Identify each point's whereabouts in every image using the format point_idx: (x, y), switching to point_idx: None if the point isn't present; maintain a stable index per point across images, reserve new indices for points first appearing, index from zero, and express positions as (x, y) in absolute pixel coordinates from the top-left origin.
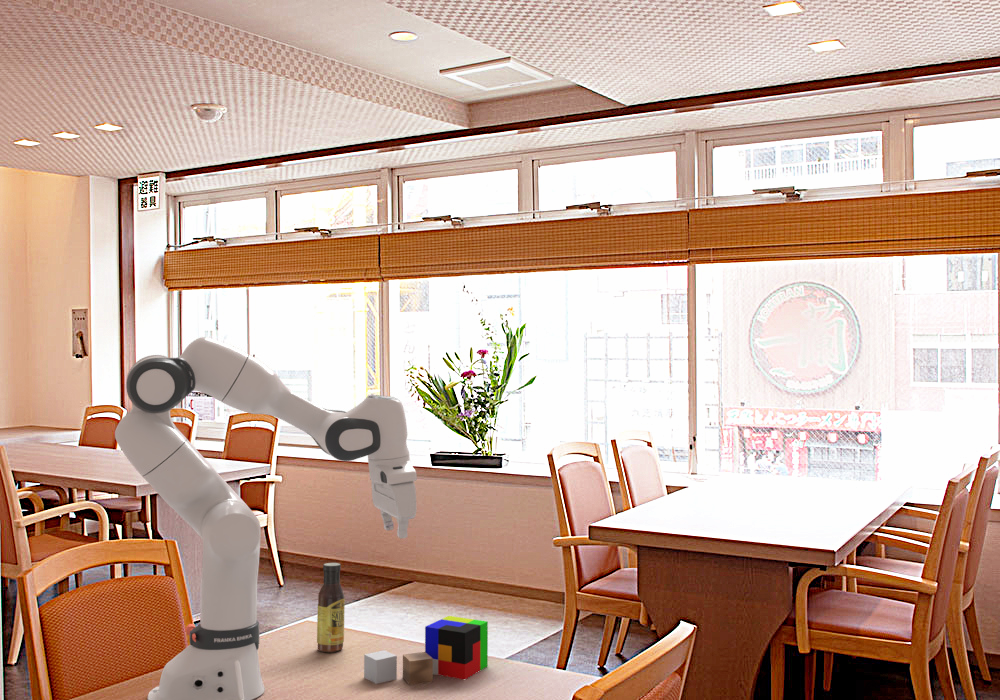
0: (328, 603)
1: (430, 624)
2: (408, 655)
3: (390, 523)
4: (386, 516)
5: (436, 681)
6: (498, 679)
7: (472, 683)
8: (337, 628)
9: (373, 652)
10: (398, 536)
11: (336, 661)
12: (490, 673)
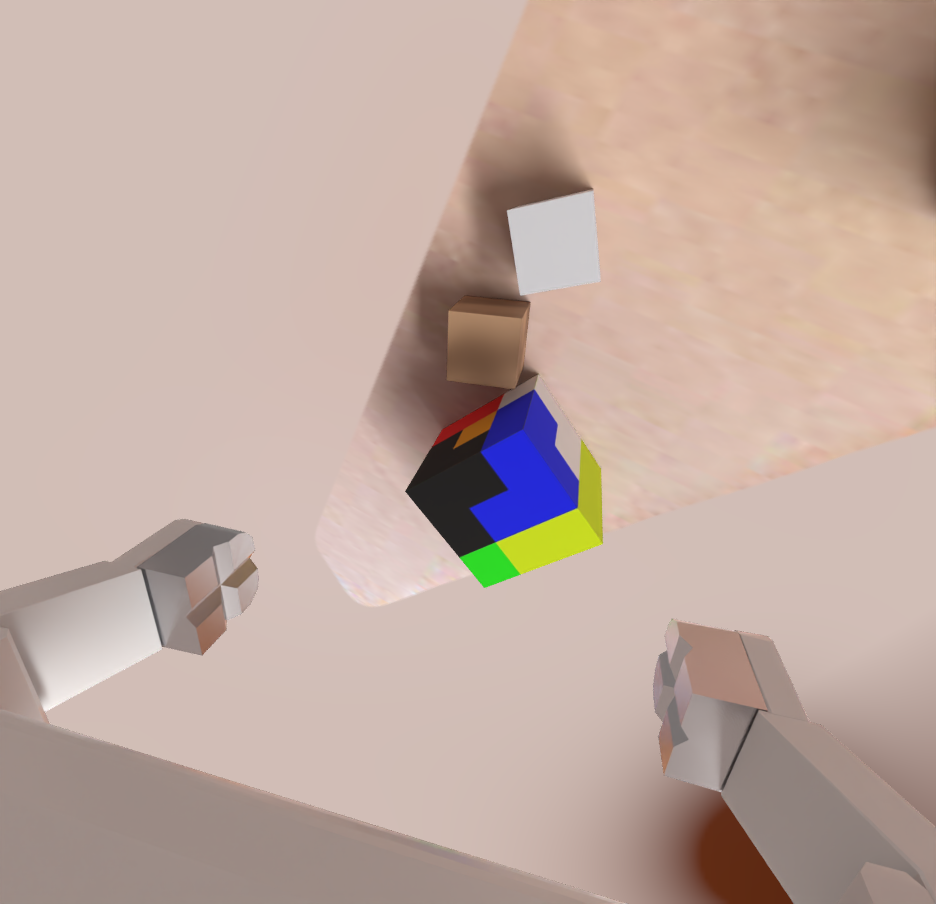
0: None
1: (538, 454)
2: (503, 330)
3: (671, 728)
4: (814, 842)
5: None
6: None
7: (412, 431)
8: None
9: (596, 234)
10: (203, 526)
11: (831, 146)
12: None
